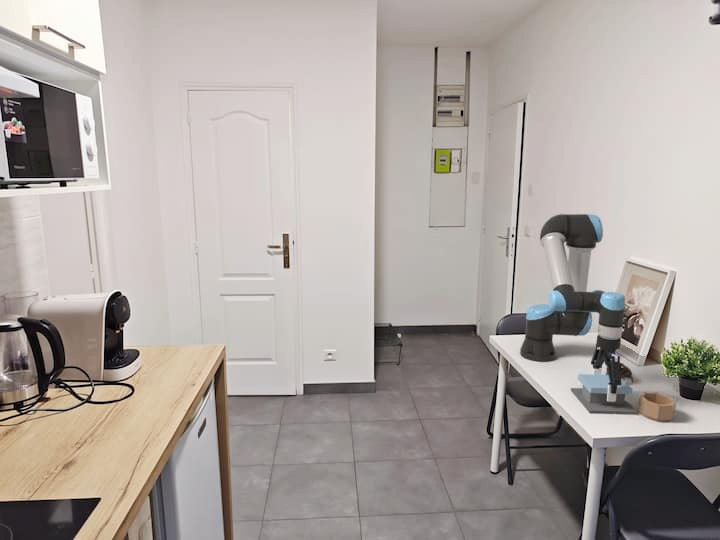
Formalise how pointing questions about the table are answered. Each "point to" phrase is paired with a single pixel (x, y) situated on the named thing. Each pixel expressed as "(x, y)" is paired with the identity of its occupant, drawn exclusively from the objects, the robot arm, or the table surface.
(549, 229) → the robot arm
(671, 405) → the brown octagonal bowl
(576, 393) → the grey stepped plinth
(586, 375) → the cover sheet
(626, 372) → the brown openwork dome
